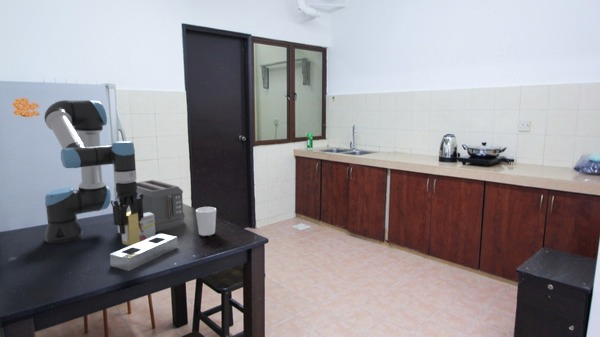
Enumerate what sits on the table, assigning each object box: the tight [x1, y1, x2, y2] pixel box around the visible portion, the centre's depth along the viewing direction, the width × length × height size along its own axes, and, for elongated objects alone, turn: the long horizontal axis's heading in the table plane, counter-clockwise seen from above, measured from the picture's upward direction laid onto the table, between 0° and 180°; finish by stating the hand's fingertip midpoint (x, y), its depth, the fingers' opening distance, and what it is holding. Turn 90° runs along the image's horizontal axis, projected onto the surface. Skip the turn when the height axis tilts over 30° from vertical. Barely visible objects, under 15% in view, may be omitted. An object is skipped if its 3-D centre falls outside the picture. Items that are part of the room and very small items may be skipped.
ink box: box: [139, 212, 157, 242], centre depth 175 cm, size 9×5×12 cm, turn 136°
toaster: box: [135, 179, 186, 232], centre depth 199 cm, size 19×34×20 cm, turn 50°
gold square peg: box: [121, 212, 141, 246], centre depth 147 cm, size 4×4×12 cm
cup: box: [195, 206, 217, 238], centre depth 180 cm, size 10×10×13 cm
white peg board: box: [109, 233, 179, 272], centre depth 155 cm, size 10×26×5 cm, turn 155°
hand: (130, 238), depth 147 cm, fingers closed on gold square peg, 4 cm apart
